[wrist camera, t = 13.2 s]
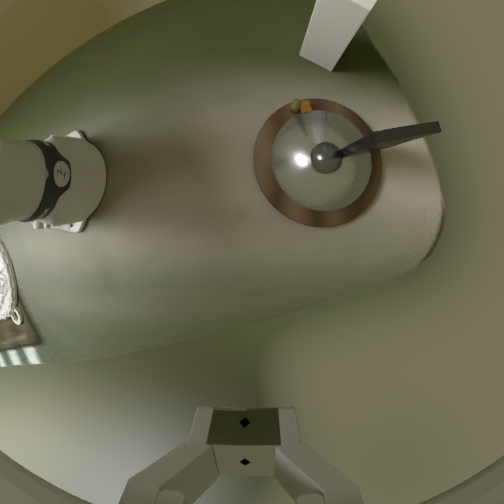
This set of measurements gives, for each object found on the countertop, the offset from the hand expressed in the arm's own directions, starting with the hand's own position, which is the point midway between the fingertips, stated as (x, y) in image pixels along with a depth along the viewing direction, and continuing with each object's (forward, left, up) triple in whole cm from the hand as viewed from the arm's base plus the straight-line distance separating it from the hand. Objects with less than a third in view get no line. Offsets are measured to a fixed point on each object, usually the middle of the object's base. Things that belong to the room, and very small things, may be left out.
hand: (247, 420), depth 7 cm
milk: (+12, +32, -35) cm, 49 cm away
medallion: (-67, -8, -36) cm, 76 cm away
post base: (+10, +12, -35) cm, 38 cm away
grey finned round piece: (+11, +13, -33) cm, 38 cm away
